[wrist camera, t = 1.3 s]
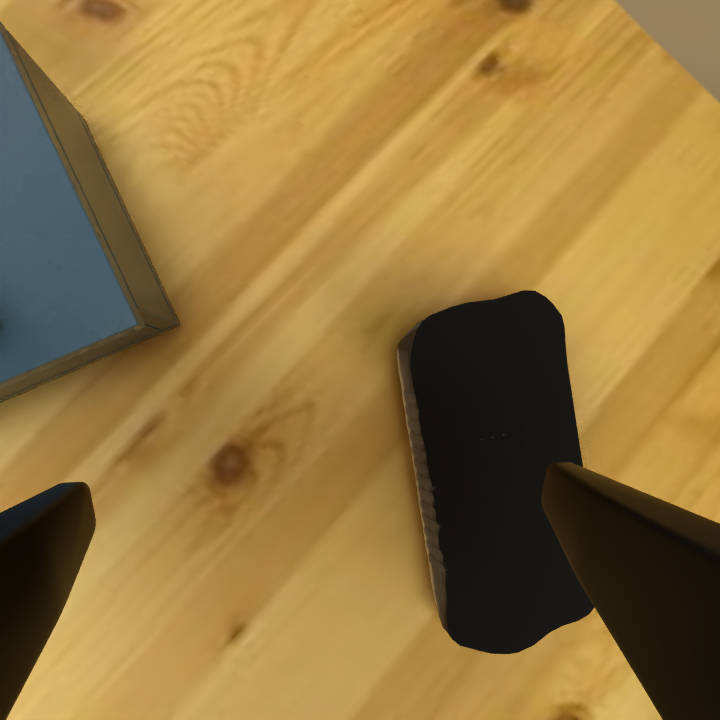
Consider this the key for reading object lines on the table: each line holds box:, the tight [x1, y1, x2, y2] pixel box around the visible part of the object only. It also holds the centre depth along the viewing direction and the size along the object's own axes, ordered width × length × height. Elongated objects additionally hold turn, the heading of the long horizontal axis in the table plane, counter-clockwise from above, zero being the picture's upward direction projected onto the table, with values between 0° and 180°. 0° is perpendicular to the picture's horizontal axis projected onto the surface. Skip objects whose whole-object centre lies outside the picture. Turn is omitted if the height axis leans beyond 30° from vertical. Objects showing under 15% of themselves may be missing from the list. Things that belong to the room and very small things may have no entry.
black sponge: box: [396, 290, 594, 654], centre depth 22 cm, size 16×8×4 cm, turn 8°
